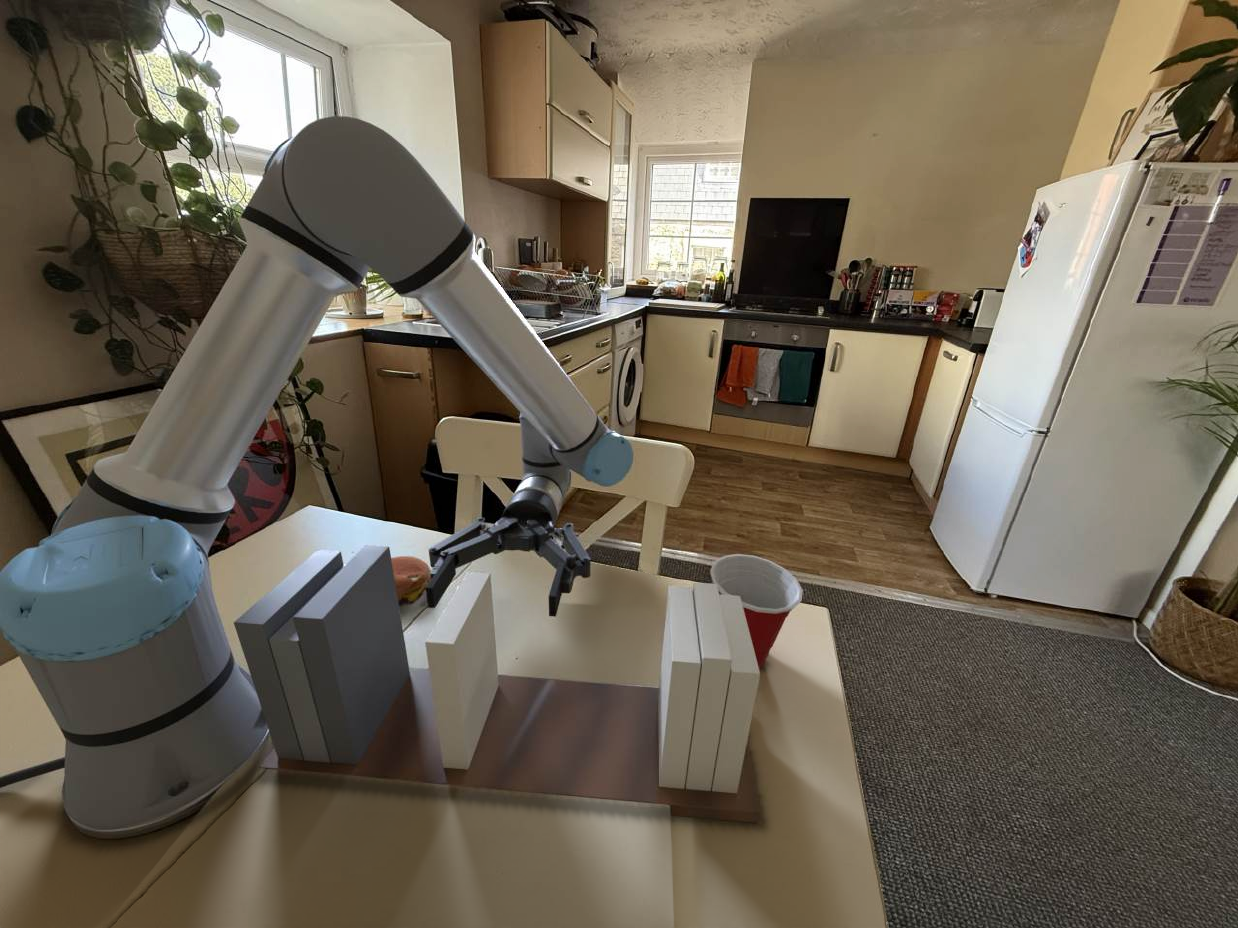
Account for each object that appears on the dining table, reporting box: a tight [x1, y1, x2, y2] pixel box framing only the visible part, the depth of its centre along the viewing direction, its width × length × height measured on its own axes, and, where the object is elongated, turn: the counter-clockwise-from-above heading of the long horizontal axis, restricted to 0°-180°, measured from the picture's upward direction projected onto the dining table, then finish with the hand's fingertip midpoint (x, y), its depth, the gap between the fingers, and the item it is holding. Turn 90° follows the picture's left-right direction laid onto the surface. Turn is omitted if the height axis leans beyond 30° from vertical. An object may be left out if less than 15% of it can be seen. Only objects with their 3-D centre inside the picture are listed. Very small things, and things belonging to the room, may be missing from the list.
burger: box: [391, 555, 431, 607], centre depth 71 cm, size 10×9×5 cm
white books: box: [658, 582, 761, 793], centre depth 47 cm, size 7×10×16 cm
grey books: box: [233, 544, 410, 765], centre depth 48 cm, size 8×11×17 cm
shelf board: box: [258, 667, 761, 824], centre depth 51 cm, size 46×13×2 cm, turn 86°
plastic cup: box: [709, 553, 804, 669], centre depth 61 cm, size 11×11×12 cm
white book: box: [425, 571, 499, 770], centre depth 48 cm, size 2×10×15 cm, turn 176°
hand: (490, 602), depth 54 cm, fingers open, 13 cm apart
